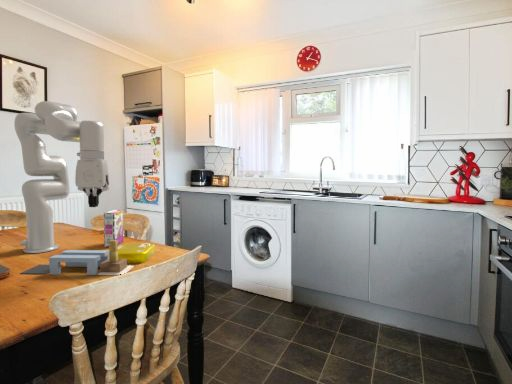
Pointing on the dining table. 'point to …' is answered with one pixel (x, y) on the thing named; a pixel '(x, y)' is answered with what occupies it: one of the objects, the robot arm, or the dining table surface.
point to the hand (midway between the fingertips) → (93, 206)
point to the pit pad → (38, 270)
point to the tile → (117, 272)
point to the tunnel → (78, 260)
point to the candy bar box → (113, 226)
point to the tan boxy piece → (113, 259)
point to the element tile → (136, 252)
